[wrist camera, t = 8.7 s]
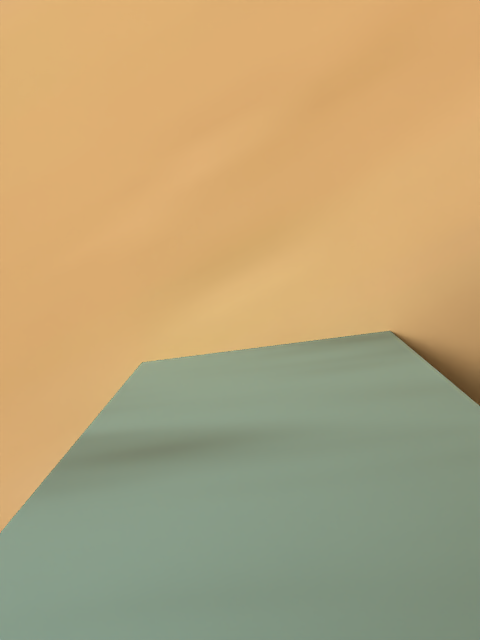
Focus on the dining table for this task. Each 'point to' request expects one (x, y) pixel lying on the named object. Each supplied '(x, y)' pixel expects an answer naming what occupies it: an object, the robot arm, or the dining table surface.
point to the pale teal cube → (259, 504)
